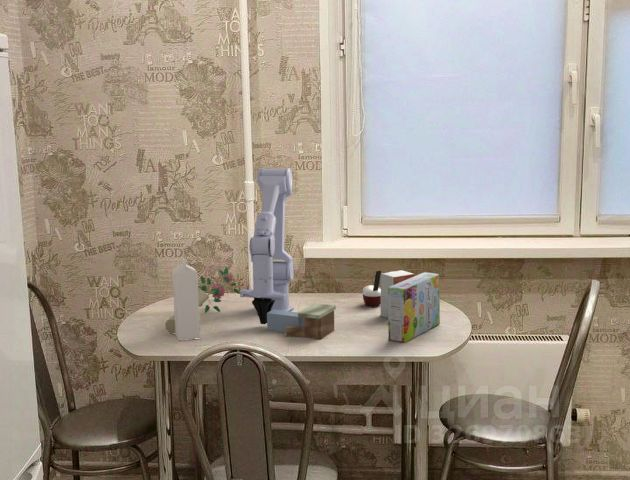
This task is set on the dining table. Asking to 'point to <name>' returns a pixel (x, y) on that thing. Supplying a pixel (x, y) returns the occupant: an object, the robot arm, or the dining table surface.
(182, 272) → the milk
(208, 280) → the flower vase
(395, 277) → the small box
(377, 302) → the cocoa
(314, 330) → the awning socket
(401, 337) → the snack box
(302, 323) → the peg
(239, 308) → the dining table surface
